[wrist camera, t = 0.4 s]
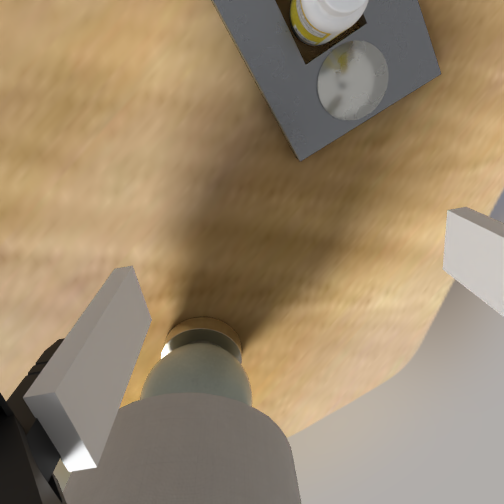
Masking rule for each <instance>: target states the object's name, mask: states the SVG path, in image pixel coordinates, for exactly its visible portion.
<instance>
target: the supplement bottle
mask: <svg viewBox="0 0 504 504" xmlns="http://www.w3.org/2000/svg"><path fill="white" fill-rule="evenodd" d="M368 1H369V0H292V1H291V5H290V11H289V18H290V24H291V27H292V30H293V32H294V34H295V35H296V36H297V38H298V39H299V40H301V41H302V42H303V43H305V44H307V45H311V46H319V45H323V44H326V43H328V42H330V41H331V40H333V39H334V38H335V37H337V36H338V35H340V34H341V33H343V32H344V31H345V30H347V29H348V28H350V27H351V26H352V25H354V24H355V23H356V22H357V21H358V19H359V18H360V17H361V16H362V14H363V12H364V11H365V9H366V6H367V4H368Z"/></svg>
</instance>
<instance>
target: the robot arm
mask: <svg viewBox="0 0 504 504" xmlns="http://www.w3.org/2000/svg"><path fill="white" fill-rule="evenodd" d="M443 270H444V271H445V272H447V273H448V274H449V275H451V276H452V277H453V278H454V279H456V280H457V281H458V282H460V283H461V284H462V285H463V286H465V287H466V288H467V289H469V290H470V291H471V292H472V293H474V294H475V295H476V296H477V297H479V298H480V299H481V300H483V301H484V302H485V303H486V304H488V305H489V306H490V307H492V308H493V309H494V310H495V311H497V312H498V313H499V314H501V315H502V316H503V317H504V223H502V222H500V221H497V220H495V219H493V218H491V217H488V216H486V215H484V214H481V213H479V212H477V211H475V210H472V209H470V208H468V207H462V208H457V209H451V210H447V222H446V235H445V247H444V260H443ZM151 321H152V319H151V316H150V313H149V311H148V308H147V305H146V302H145V299H144V296H143V294H142V291H141V288H140V285H139V282H138V279H137V277H136V274H135V271H134V268H133V266H128V267H122V268H116V269H114V270H113V272H112V273H111V275H110V276H109V277H108V279H107V280H106V282H105V283H104V284H103V286H102V287H101V289H100V290H99V291H98V293H97V294H96V296H95V297H94V298H93V300H92V301H91V303H90V304H89V305H88V307H87V308H86V310H85V311H84V312H83V314H82V315H81V317H80V318H79V319H78V321H77V322H76V324H75V325H74V326H73V328H72V329H71V331H70V332H69V333H68V335H67V336H66V338H64V339H59V340H57V341H56V342H55V343H54V344H53V345H51V346H50V347H49V348H48V349H47V350H45V351H44V353H43V354H42V355H41V357H40V358H39V359H38V361H37V362H36V365H35V366H33V367H32V368H31V370H30V371H29V372H28V376H25V378H24V379H23V380H22V382H21V383H20V384H19V386H18V387H17V388H16V390H15V391H14V392H13V394H12V395H11V396H10V397H9V399H8V400H7V401H5V399H4V398H3V396H2V395H1V393H0V504H67V503H66V501H65V498H64V495H63V493H62V491H61V488H60V485H59V483H58V480H57V479H56V478H55V476H54V474H53V471H54V469H55V467H56V465H57V463H58V461H59V459H60V458H61V460H62V462H63V463H64V465H65V466H66V468H67V470H68V471H69V472H72V471H78V470H84V469H90V468H96V467H97V466H98V463H99V461H100V458H101V455H102V452H103V450H104V447H105V444H106V442H107V439H108V436H109V434H110V431H111V428H112V426H113V423H114V420H115V417H116V415H117V412H118V409H119V407H120V404H121V401H122V399H123V396H124V393H125V391H126V388H127V385H128V382H129V380H130V377H131V374H132V372H133V369H134V366H135V364H136V361H137V358H138V356H139V353H140V350H141V347H142V345H143V342H144V339H145V337H146V334H147V331H148V329H149V326H150V323H151Z"/></svg>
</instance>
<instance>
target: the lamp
mask: <svg viewBox="0 0 504 504" xmlns="http://www.w3.org/2000/svg"><path fill="white" fill-rule="evenodd" d="M241 363H242V351H241V342H240V339H239V336H238V335H237V333H236V332H235V330H234V329H233V328H232V327H230V326H229V325H228V324H226V323H225V322H223V321H220V320H218V319H214V318H209V317H196V318H191V319H187V320H185V321H182V322H181V323H179V324H177V325H176V326H175V327H174V328H173V329H172V330H171V331H170V332H169V334H168V335H167V338H166V340H165V344H164V347H163V351H162V355H161V359H160V360H159V361H158V362H157V363H156V365H155V366H154V367H153V368H152V370H151V371H150V373H149V374H148V376H147V378H146V380H145V383H144V385H143V388H142V392H141V397H140V400H139V401H135V402H132V403H130V404H128V405H126V406H124V407H122V408H120V409H118V412H117V415H116V417H115V420H114V423H113V426H112V428H111V431H110V434H109V436H108V439H107V442H106V444H105V447H104V450H103V452H102V455H101V458H100V461H99V463H98V466H97V467H96V468H90V469H84V470H78V471H72V473H71V475H70V477H69V480H68V482H67V484H66V487H65V489H64V491H63V495H64V498H65V501H66V503H67V504H301V499H300V494H299V488H298V482H297V477H296V471H295V466H294V460H293V455H292V450H291V447H290V444H289V442H288V440H287V438H286V436H285V435H284V433H283V432H282V430H281V429H280V428H279V426H278V425H277V424H276V423H275V422H274V421H273V420H272V419H271V418H270V417H269V416H267V415H265V414H264V413H262V412H260V411H259V410H257V409H255V408H253V407H252V391H251V385H250V382H249V378H248V376H247V374H246V372H245V370H244V368H243V367H242V365H241Z"/></svg>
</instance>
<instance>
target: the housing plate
mask: <svg viewBox="0 0 504 504" xmlns="http://www.w3.org/2000/svg"><path fill="white" fill-rule="evenodd" d="M211 1H212V3H213V5H214V7H215V8H216V10H217V12H218V14H219V16H220V18H221V19H222V21H223V23H224V25H225V27H226V29H227V30H228V32H229V34H230V36H231V38H232V40H233V42H234V43H235V45H236V47H237V49H238V51H239V53H240V54H241V56H242V58H243V60H244V62H245V64H246V65H247V67H248V69H249V71H250V73H251V75H252V77H253V78H254V80H255V82H256V84H257V86H258V88H259V89H260V91H261V93H262V95H263V97H264V99H265V100H266V102H267V104H268V106H269V108H270V110H271V112H272V113H273V115H274V117H275V119H276V121H277V123H278V124H279V126H280V128H281V130H282V132H283V134H284V135H285V137H286V139H287V141H288V143H289V145H290V147H291V148H292V150H293V152H294V154H295V156H296V158H297V159H298V160H299V161H302V160H304V159H305V158H307V157H308V156H310V155H312V154H313V153H315V152H316V151H318V150H320V149H321V148H323V147H324V146H326V145H328V144H329V143H331V142H333V141H334V140H336V139H337V138H339V137H341V136H342V135H344V134H345V133H347V132H349V131H350V130H352V129H353V128H355V127H357V126H358V125H360V124H361V123H363V122H365V121H366V120H368V119H369V118H371V117H373V116H374V115H376V114H378V113H379V112H381V111H382V110H384V109H386V108H387V107H389V106H390V105H392V104H394V103H395V102H397V101H398V100H400V99H402V98H403V97H405V96H406V95H408V94H410V93H411V92H413V91H414V90H416V89H418V88H419V87H421V86H422V85H424V84H426V83H427V82H429V81H431V80H432V79H434V78H435V77H437V76H439V75H440V74H441V71H440V68H439V65H438V62H437V59H436V56H435V53H434V50H433V46H432V43H431V40H430V37H429V34H428V31H427V28H426V25H425V22H424V18H423V15H422V12H421V9H420V6H419V3H418V0H369V1H368V4H367V6H366V9H365V11H364V12H363V14H362V16H361V17H360V18H359V19H358V23H359V26H360V28H359V29H357V30H356V31H354V32H353V33H351V34H350V35H348V36H347V37H345V38H344V39H342V40H341V41H339V42H338V43H336V44H335V45H334V46H332V47H331V48H329V49H328V50H326V51H325V52H323V53H322V54H320V55H319V56H317V57H316V58H314V59H313V60H311V61H310V62H308V63H307V64H305V62H304V60H303V58H302V56H301V54H300V52H299V50H298V48H297V45H296V43H295V41H294V39H293V37H292V35H291V33H290V31H289V29H288V26H287V24H286V22H285V20H284V18H283V16H282V14H281V12H280V10H279V7H278V5H277V3H276V1H275V0H211Z"/></svg>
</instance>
